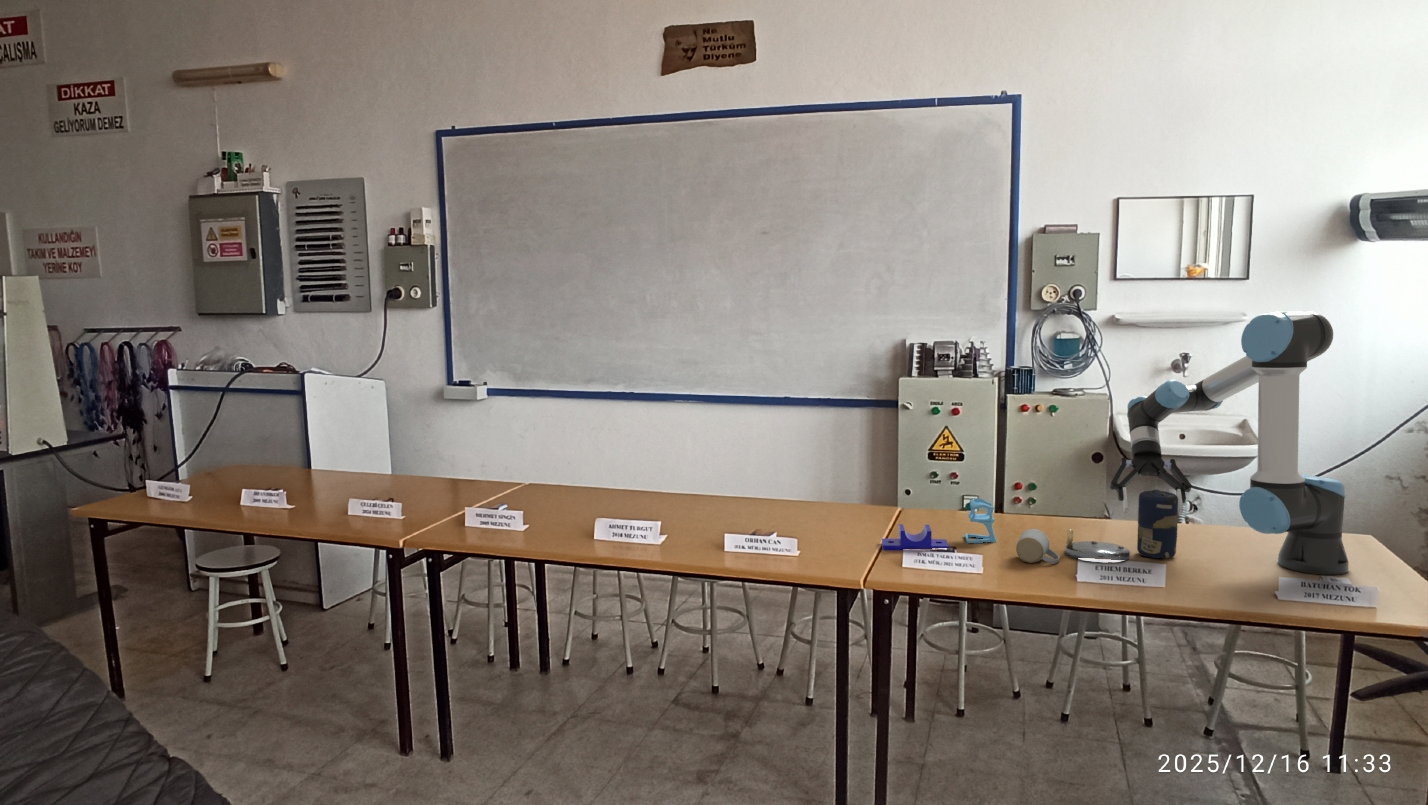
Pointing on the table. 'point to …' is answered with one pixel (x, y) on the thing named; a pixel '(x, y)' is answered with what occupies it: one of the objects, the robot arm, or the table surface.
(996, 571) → the table surface
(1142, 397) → the robot arm
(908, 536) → the mounting bracket
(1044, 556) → the ceramic mug
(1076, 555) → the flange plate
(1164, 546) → the canister
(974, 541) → the light blue stand
